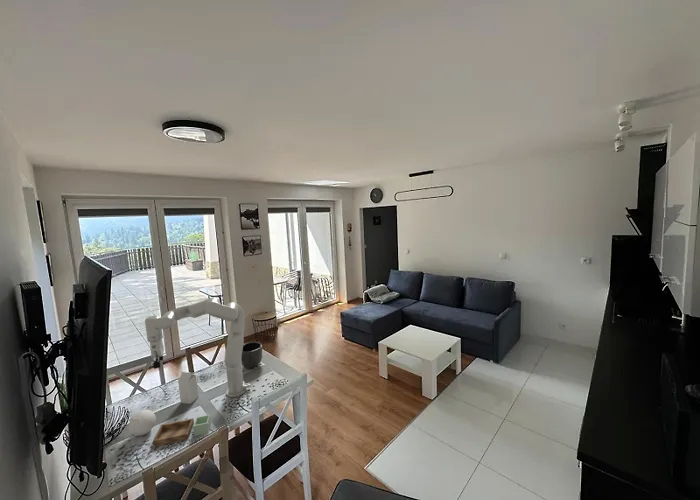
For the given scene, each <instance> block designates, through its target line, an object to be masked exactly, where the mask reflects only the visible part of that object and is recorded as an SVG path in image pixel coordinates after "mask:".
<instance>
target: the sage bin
mask: <svg viewBox="0 0 700 500" xmlns="http://www.w3.org/2000/svg"><path fill="white" fill-rule="evenodd" d="M211 426H212V418H211V414H206V415H201V416H196V417H195V419H194V425H193V428H192V431H193V436H194V437H196V436H201V435H206V434H209V432H210V430H211Z"/></svg>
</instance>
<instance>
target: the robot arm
mask: <svg viewBox="0 0 700 500" xmlns="http://www.w3.org/2000/svg"><path fill="white" fill-rule="evenodd" d="M205 315H208V316H211V317H214V318H217V319H221V320H224V321H228V322H230V327H229V332H228V336H227V343H226V349H225V352H224V359H223V362H224V364H225V369H226V370H225V371H226V379H227V390H226V391H225V394H226V397H228V398H237V397H239V396H241V395H244V393H246V391H247V389H249V388H251V387H252V385H251V383H250V382H247V383H245V381H244V375H243V366H242V360H241V356H242V350H243V344H245V343H244V342H245V341H244V332H245V322H246V315H245V311H244V309H243V308H242V306H241V305H240V304H238V303H236V302H234V301H233V302H228V303H227V304H226V305H224V304H221V301H220V299H219V298H218V297H213V296H212V297H210V298H207V299H204V300H201V301H198V302H196V303H192V304H189V305H184V306H180V307H176V308H174V309H171V310H168V311H167V312H165V313H164V314H163V316H161V317H160V316H159V315H151V316H148V317H145V319H144V323H145V333H146V340H147V343H149V347H150V356H151V359H152V364H153V369H155V370H156V369H160V368H161V361H163V360H164V356H163V355H164V351H165V350H164V349H165V348H164V342H163V338H164V336H163V330H166V329H167V330H168V329H170V328H173V326H174V324H175V323H176V322H177V321H179V320H182V319H186V318H193V319H197V318H199V317H202V316H205Z"/></svg>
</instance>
